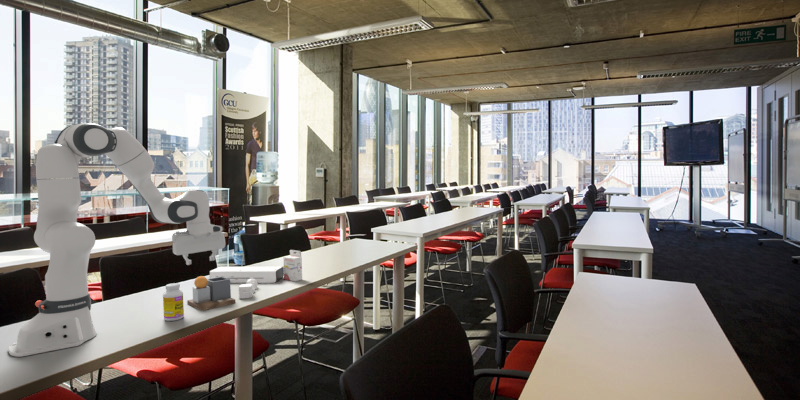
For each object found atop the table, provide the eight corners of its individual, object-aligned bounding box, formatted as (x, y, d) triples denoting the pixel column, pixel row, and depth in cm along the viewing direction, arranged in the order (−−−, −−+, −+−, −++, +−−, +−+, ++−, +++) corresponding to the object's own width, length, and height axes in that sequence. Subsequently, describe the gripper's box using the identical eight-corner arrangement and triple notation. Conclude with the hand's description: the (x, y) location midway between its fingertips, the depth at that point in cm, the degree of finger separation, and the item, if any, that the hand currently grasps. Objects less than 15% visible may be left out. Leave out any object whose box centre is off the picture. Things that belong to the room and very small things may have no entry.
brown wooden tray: (201, 310, 177) (201, 305, 176) (187, 303, 186) (187, 299, 186) (235, 302, 187) (235, 298, 187) (220, 296, 196) (220, 292, 196)
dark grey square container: (213, 301, 184) (212, 282, 183) (205, 298, 189) (205, 279, 188) (230, 297, 189) (230, 279, 189) (222, 294, 194) (222, 276, 194)
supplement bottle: (175, 322, 163) (174, 287, 163) (159, 321, 165) (158, 286, 164) (187, 316, 170) (186, 282, 169) (172, 315, 171) (171, 282, 170)
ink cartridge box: (283, 279, 227) (282, 250, 226) (290, 277, 231) (289, 249, 230) (295, 281, 222) (294, 252, 221) (302, 279, 226) (301, 250, 226)
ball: (197, 290, 180) (197, 278, 180) (192, 288, 184) (192, 276, 183) (210, 288, 184) (209, 276, 184) (204, 286, 187) (204, 274, 187)
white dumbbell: (251, 298, 194) (250, 286, 193) (238, 299, 193) (238, 286, 192) (258, 287, 213) (258, 275, 213) (247, 287, 212) (246, 276, 212)
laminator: (209, 283, 223) (209, 271, 223) (221, 277, 235) (220, 266, 235) (276, 283, 221) (276, 271, 220) (284, 277, 233) (284, 265, 233)
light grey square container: (198, 304, 181) (197, 289, 180) (193, 301, 184) (192, 287, 184) (210, 301, 184) (209, 286, 184) (205, 299, 188) (204, 285, 187)
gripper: (174, 232, 173) (177, 268, 174) (226, 226, 187) (228, 259, 188) (168, 231, 177) (171, 266, 178) (219, 225, 192) (221, 257, 193)
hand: (200, 262), depth 183 cm, fingers open, 8 cm apart
